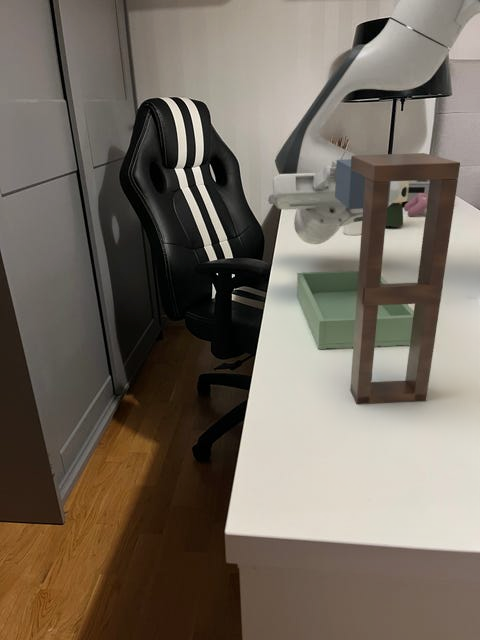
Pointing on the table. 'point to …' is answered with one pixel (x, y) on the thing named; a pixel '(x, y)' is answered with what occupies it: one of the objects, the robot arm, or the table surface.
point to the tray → (347, 311)
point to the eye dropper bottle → (353, 228)
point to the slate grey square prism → (350, 185)
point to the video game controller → (417, 205)
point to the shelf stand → (419, 293)
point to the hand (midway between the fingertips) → (346, 170)
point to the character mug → (397, 208)
